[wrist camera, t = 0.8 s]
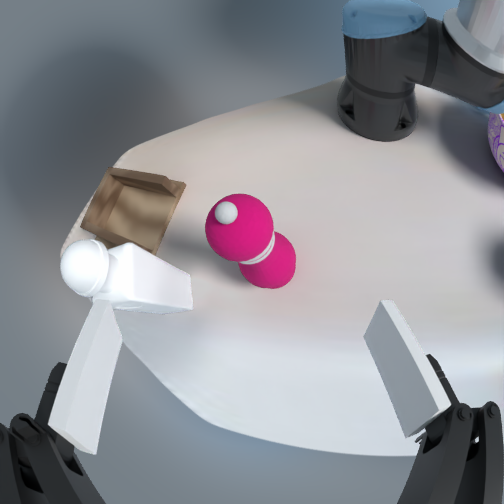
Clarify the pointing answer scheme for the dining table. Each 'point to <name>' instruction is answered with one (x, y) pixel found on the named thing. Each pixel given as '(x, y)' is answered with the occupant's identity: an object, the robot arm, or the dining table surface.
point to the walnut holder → (132, 208)
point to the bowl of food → (497, 137)
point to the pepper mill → (250, 240)
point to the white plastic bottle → (126, 277)
